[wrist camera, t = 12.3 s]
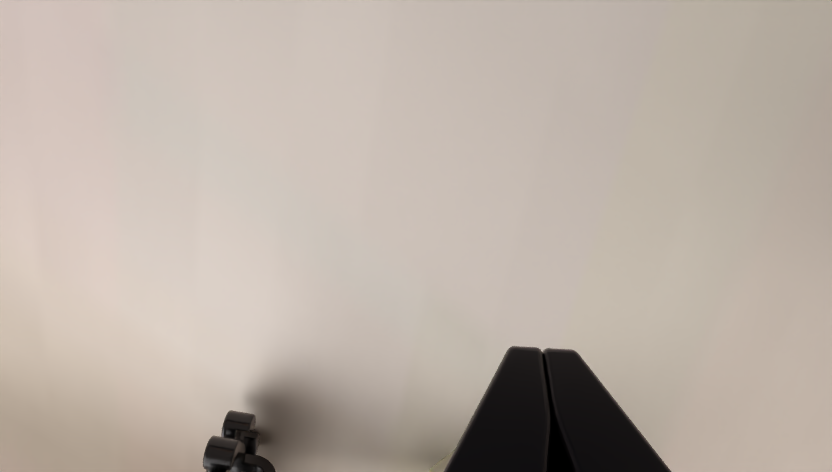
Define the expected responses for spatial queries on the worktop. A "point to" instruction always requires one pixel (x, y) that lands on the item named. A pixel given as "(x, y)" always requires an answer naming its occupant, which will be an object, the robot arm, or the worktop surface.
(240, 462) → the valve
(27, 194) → the worktop surface
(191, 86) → the worktop surface
